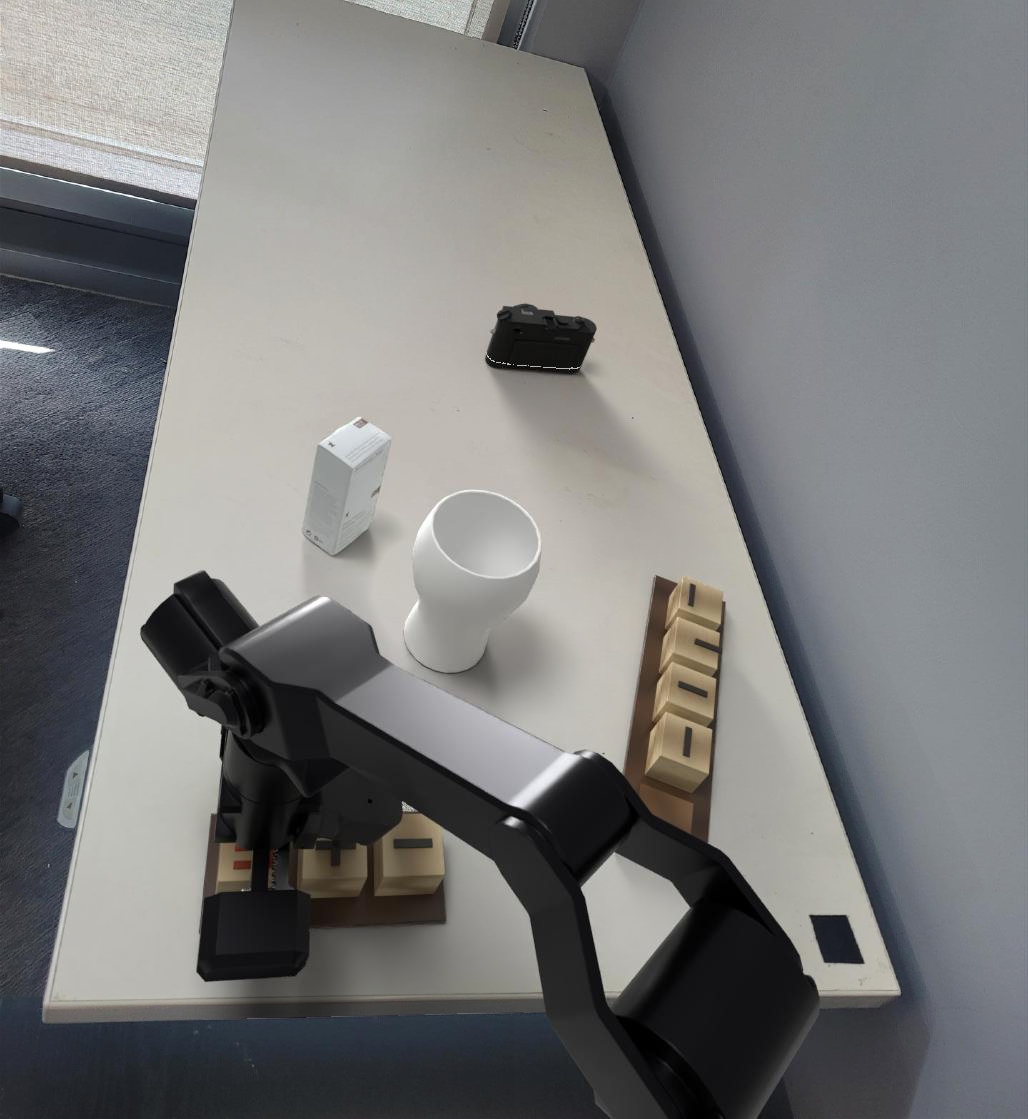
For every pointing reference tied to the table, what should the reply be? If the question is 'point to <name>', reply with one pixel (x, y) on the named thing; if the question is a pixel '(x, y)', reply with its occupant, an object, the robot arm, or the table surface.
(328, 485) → the cosmetic box
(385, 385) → the table surface
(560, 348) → the camera
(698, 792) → the letter block display
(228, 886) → the letter s tile
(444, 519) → the cup
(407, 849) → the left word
